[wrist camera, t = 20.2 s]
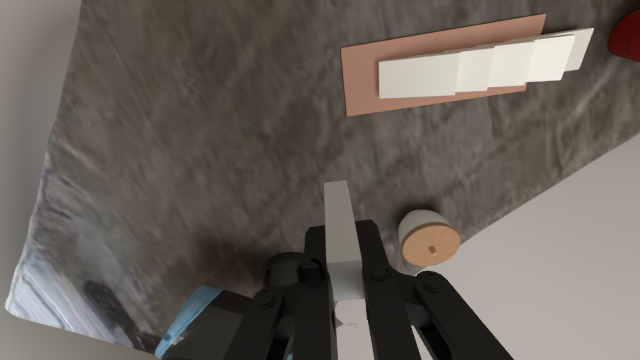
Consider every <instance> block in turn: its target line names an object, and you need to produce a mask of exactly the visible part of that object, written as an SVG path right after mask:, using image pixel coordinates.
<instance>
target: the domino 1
mask: <svg viewBox="0 0 640 360" xmlns="http://www.w3.org/2000/svg"><path fill="white" fill-rule="evenodd" d="M460 54H461V51H458V52H449V53H440V54H432V55H423V56H415V57H406V58H398V59H389V60H382V61H380V62H379V99H382V98H404V97H427V96H449V95H455V91H456V84H457V76H458V69H459V61H460Z"/></svg>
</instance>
